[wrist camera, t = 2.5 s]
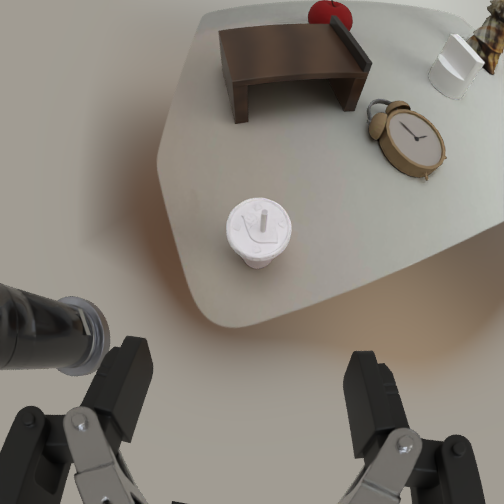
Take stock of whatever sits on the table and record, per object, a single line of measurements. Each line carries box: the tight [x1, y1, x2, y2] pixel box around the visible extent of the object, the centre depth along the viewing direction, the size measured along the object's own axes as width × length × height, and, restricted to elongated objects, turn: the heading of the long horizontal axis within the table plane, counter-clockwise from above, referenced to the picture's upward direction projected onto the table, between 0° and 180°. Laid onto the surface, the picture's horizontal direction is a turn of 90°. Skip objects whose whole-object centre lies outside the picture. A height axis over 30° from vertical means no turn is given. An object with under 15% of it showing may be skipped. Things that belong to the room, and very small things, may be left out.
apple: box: [308, 0, 353, 31], centre depth 48 cm, size 9×9×10 cm
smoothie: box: [226, 198, 291, 269], centre depth 33 cm, size 6×6×14 cm
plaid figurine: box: [465, 0, 504, 74], centre depth 44 cm, size 14×14×25 cm
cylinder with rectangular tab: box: [428, 34, 485, 100], centre depth 44 cm, size 9×9×12 cm
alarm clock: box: [367, 99, 447, 181], centre depth 43 cm, size 11×5×15 cm
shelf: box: [219, 15, 372, 124], centre depth 42 cm, size 20×14×11 cm
